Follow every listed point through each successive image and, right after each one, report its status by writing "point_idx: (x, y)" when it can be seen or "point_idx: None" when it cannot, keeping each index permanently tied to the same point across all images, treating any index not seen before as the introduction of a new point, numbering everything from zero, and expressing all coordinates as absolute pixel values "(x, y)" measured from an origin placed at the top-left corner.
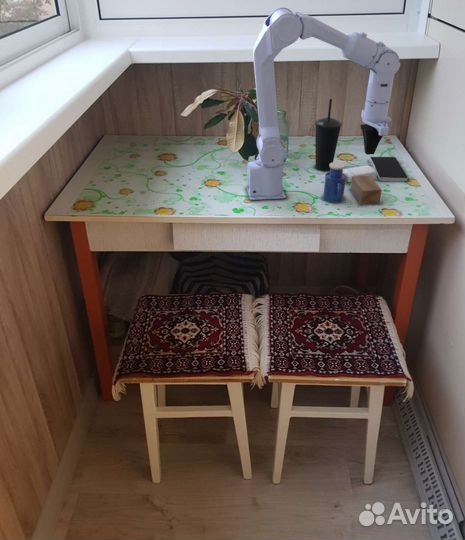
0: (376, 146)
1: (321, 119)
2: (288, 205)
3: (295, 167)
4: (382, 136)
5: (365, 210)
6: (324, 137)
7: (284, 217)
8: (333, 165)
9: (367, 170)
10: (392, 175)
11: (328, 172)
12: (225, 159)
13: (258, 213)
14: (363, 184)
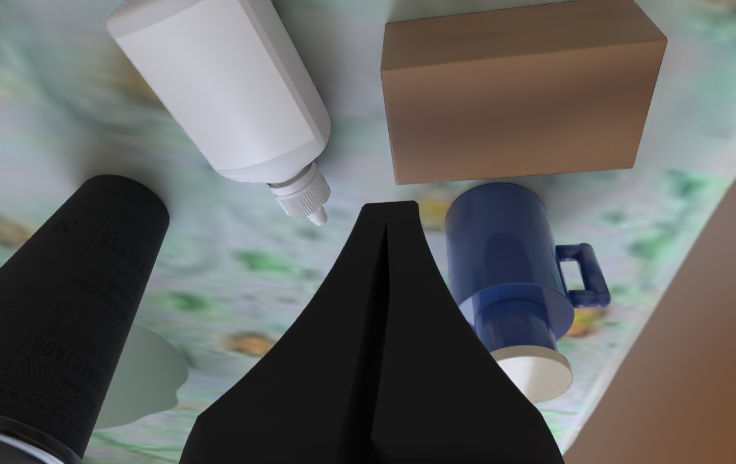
0: (432, 260)
1: None
2: None
3: (166, 301)
4: (498, 365)
5: (679, 99)
6: (104, 396)
7: (616, 364)
8: (529, 395)
9: (236, 47)
10: None
11: None
12: (172, 432)
13: (564, 406)
14: (537, 146)
